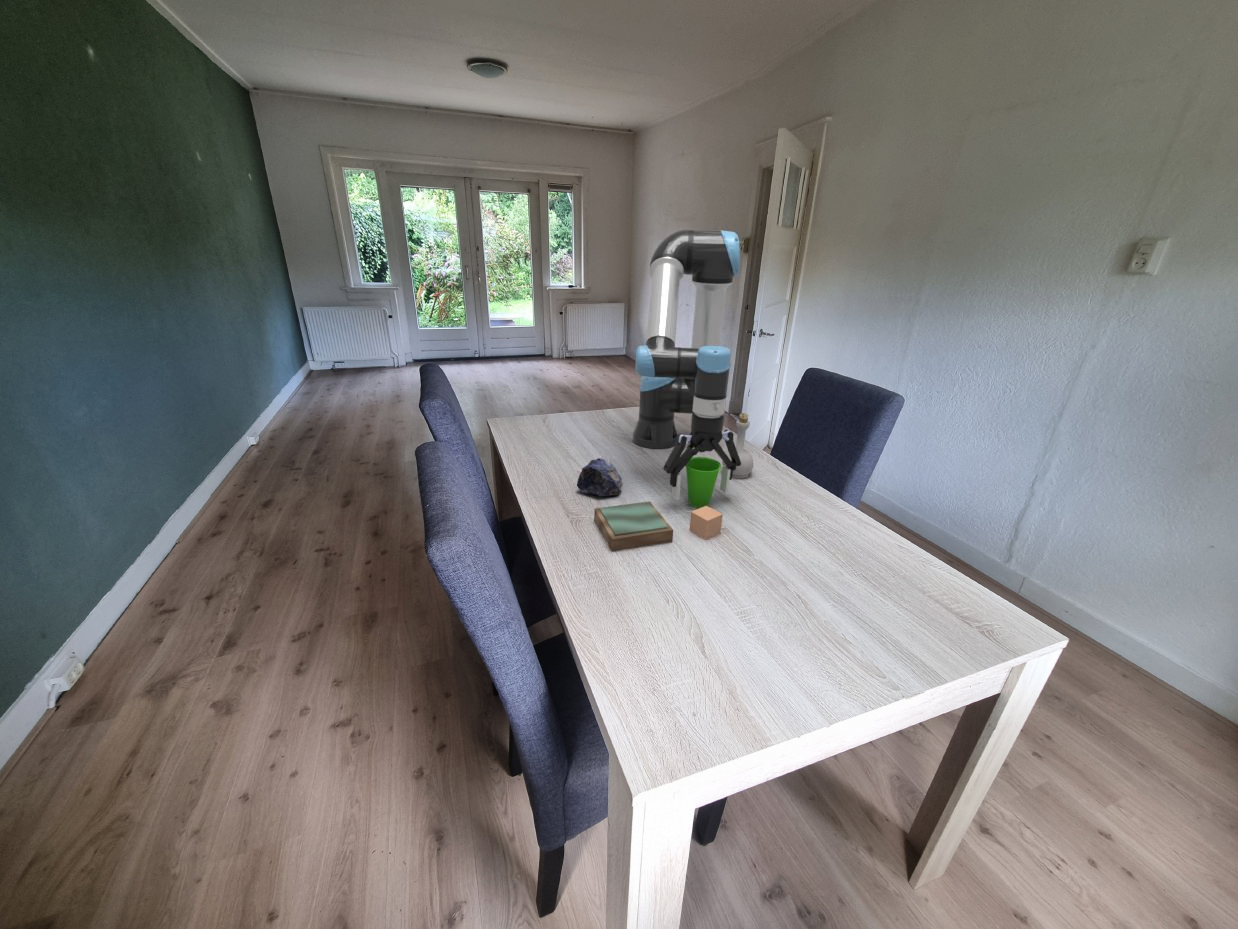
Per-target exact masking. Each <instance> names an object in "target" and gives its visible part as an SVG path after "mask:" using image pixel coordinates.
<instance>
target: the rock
mask: <svg viewBox="0 0 1238 929" xmlns="http://www.w3.org/2000/svg"><path fill="white" fill-rule="evenodd" d="M576 482H577V483H576V486H577V489H578V490H579V491H581V492H582V493H584V494H587V495H591V496H592V495H597V496H599V497H605V496H617V495H619V494H620V492H621V489H622V486H623V484H624V483H623V478H622V476H621V475H620V474H619V473H618V471H617V468H616V466H615V465H614V464H612V463H610V462H608V460H606V459H604V458H600V457H598V458H596V459H592V460H590V461H589V463H588V464H587V465H585V466H584V467H582V468H581V472H580V473H579V475H578V479H577V481H576Z"/></svg>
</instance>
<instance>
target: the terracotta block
mask: <svg viewBox="0 0 1238 929" xmlns="http://www.w3.org/2000/svg"><path fill="white" fill-rule="evenodd" d="M723 517H724V516H723V513H721V512H719V511H718V510H716V509H714V508H712V507H710V506H709V505H708V506H704V507H702V508H697V509H695V510H692V511H691V512H690V520H689V522H690V523H689V531H690V532H691V533H693V534H694V535H697V536H699V537H700V538H701V539H703V540H704V541H705V540H706V541H707V540H708V539H710V538H713V537H715V536H717V535H720V534H721V533H722V532H721V531H722V524H723Z"/></svg>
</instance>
